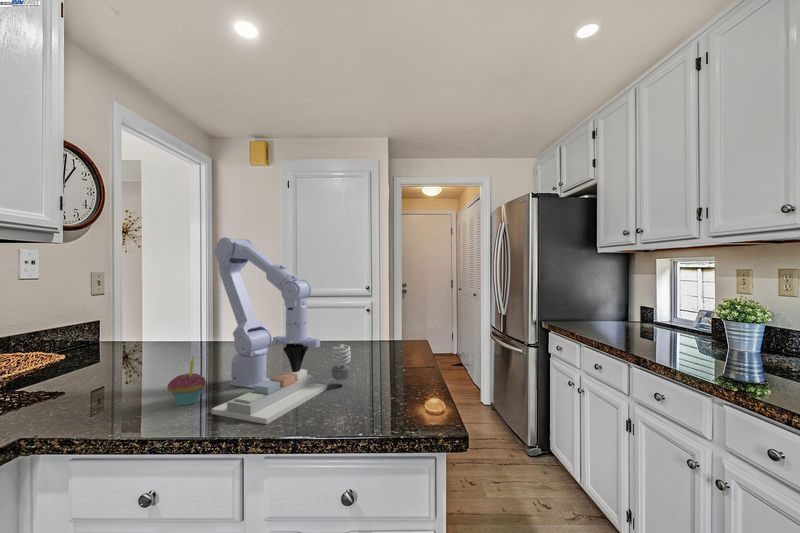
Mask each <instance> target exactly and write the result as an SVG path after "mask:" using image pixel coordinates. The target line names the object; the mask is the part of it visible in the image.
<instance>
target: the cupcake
mask: <svg viewBox="0 0 800 533" xmlns="http://www.w3.org/2000/svg"><path fill="white" fill-rule="evenodd" d="M194 358H195V356H194V355H193V356H192V358H191V359H190V367H189V373H185V374H179V375H178V376H175V377H174V378H172V379H171V380H170V381H169V382H168V384H167V388H166V389H167V390H168V391H167V392H169V393H171V394H172V395H173V396H174V399H175V402H176V404H177V406H188V404H190V405H193V404H196V403H197V402H199V399H200V397H201V393H202V392H203V389H204V387H205V386H206V385H207V380H206V378H205V377H204V376H203V375H201V374H198V373H193V372H194V363H195V359H194ZM195 402H196V403H195ZM192 403H193V404H192Z"/></svg>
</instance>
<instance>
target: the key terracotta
mask: <svg viewBox="0 0 800 533" xmlns="http://www.w3.org/2000/svg"><path fill="white" fill-rule="evenodd" d="M269 379H270V381H275V382H280V387H281V388H285V387H287V386H289V385H291V384H293V383H294V376H293V375H285V373H280V374H278V375H275V376H273V377H271V378H269Z"/></svg>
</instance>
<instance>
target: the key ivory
mask: <svg viewBox="0 0 800 533" xmlns="http://www.w3.org/2000/svg"><path fill="white" fill-rule="evenodd" d="M284 374H285V375H293V376H294V381H300V380H302V379H304V378H306V377H307V375H308V369H302V368H300V371H297V372H292V369H290V370H288V371H285V372H284Z"/></svg>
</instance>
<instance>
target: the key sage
mask: <svg viewBox="0 0 800 533" xmlns="http://www.w3.org/2000/svg"><path fill="white" fill-rule="evenodd" d="M244 394H245V395H244ZM244 394H243V395H240V397H239V396H238V398H237V397H235V398H234V399H235V402H240V403H246V404H252V403H254V402H256V401H258V400H260V399H262V398H264V395H261V394H255V393H249V392H247V394H246V393H244Z"/></svg>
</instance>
